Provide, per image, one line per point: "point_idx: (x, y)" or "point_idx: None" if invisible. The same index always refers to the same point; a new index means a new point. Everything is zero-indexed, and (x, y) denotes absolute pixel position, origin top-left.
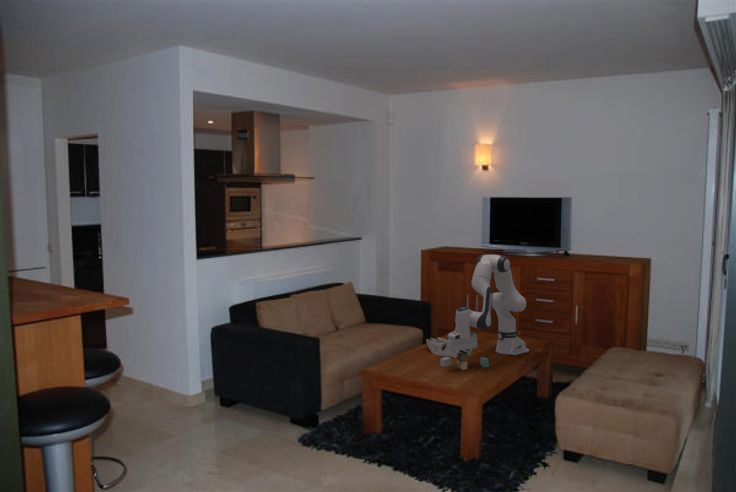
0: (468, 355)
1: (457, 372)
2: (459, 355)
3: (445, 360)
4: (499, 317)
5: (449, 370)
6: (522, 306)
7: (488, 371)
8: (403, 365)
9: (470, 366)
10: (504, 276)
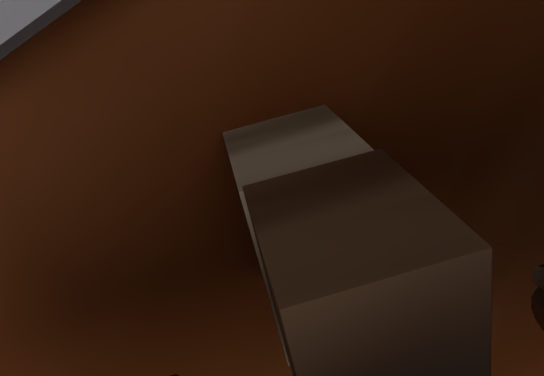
0: (540, 322)
1: (144, 372)
2: (293, 371)
3: None
4: None
5: (34, 285)
6: None
7: (540, 358)
8: None
9: (462, 138)
10: None
